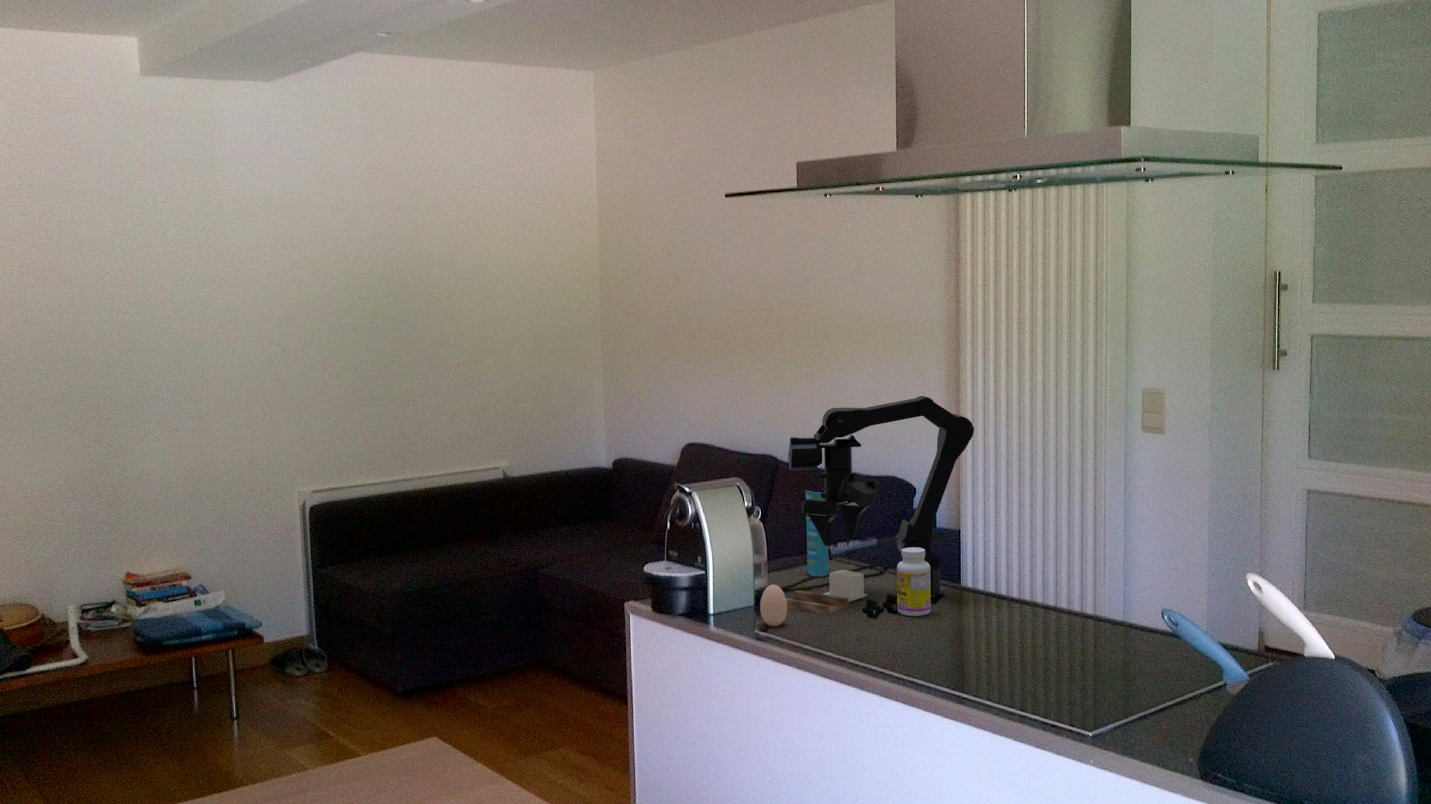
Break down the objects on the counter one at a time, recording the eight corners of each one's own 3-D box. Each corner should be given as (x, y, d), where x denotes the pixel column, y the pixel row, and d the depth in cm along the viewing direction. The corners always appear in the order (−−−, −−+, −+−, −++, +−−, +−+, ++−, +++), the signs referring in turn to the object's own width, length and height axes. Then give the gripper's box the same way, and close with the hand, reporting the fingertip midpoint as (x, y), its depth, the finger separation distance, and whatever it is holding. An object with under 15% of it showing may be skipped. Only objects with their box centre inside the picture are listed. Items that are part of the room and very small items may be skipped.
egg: (758, 623, 247) (757, 582, 247) (784, 622, 248) (783, 580, 248) (763, 630, 242) (762, 588, 242) (790, 628, 243) (789, 586, 242)
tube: (799, 574, 291) (797, 491, 289) (813, 570, 294) (811, 488, 292) (823, 578, 285) (821, 494, 284) (837, 575, 289) (836, 491, 287)
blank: (863, 597, 264) (863, 573, 264) (851, 600, 262) (850, 577, 261) (842, 592, 269) (842, 569, 268) (829, 596, 266) (829, 572, 266)
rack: (848, 607, 258) (848, 598, 258) (826, 616, 252) (826, 606, 252) (797, 599, 266) (796, 590, 266) (774, 607, 260) (774, 597, 260)
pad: (867, 596, 267) (866, 594, 267) (845, 604, 261) (845, 601, 261) (835, 592, 272) (835, 589, 272) (814, 599, 266) (814, 596, 266)
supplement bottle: (893, 609, 256) (892, 547, 255) (925, 607, 256) (924, 545, 255) (902, 617, 249) (901, 553, 248) (935, 616, 250) (934, 552, 249)
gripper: (845, 476, 252) (846, 554, 253) (894, 465, 266) (895, 538, 267) (800, 473, 259) (801, 548, 260) (850, 462, 273) (851, 533, 275)
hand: (839, 542), depth 265 cm, fingers open, 9 cm apart
